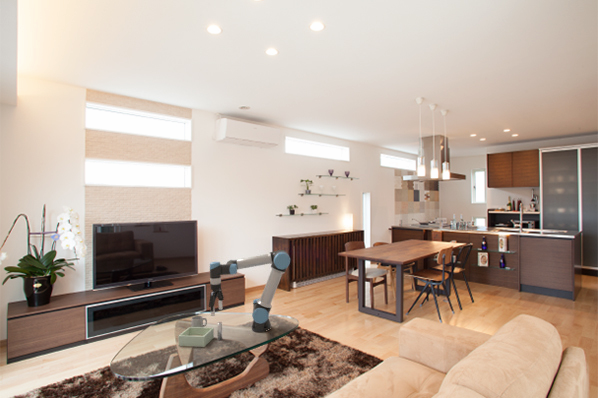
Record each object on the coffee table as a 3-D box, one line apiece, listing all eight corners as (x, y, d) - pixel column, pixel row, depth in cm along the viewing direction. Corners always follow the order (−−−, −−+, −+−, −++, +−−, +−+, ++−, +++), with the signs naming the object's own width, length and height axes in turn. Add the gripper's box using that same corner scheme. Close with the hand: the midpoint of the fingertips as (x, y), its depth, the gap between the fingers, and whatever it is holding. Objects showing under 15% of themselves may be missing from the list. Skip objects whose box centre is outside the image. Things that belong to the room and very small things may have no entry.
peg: (222, 338, 242) (222, 322, 242) (221, 340, 239) (220, 323, 239) (218, 338, 243) (218, 321, 243) (217, 340, 240) (216, 323, 240)
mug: (193, 335, 250) (193, 320, 250) (190, 331, 257) (189, 317, 257) (209, 330, 258) (208, 316, 258) (205, 327, 264) (204, 313, 264)
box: (213, 337, 245) (213, 327, 245) (204, 346, 229) (204, 336, 229) (189, 336, 248) (189, 326, 248) (178, 345, 232) (178, 335, 232)
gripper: (218, 279, 255) (219, 306, 255) (202, 288, 231) (204, 318, 231) (227, 279, 254) (228, 306, 254) (213, 288, 229) (214, 318, 229)
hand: (216, 312), depth 242 cm, fingers open, 13 cm apart
